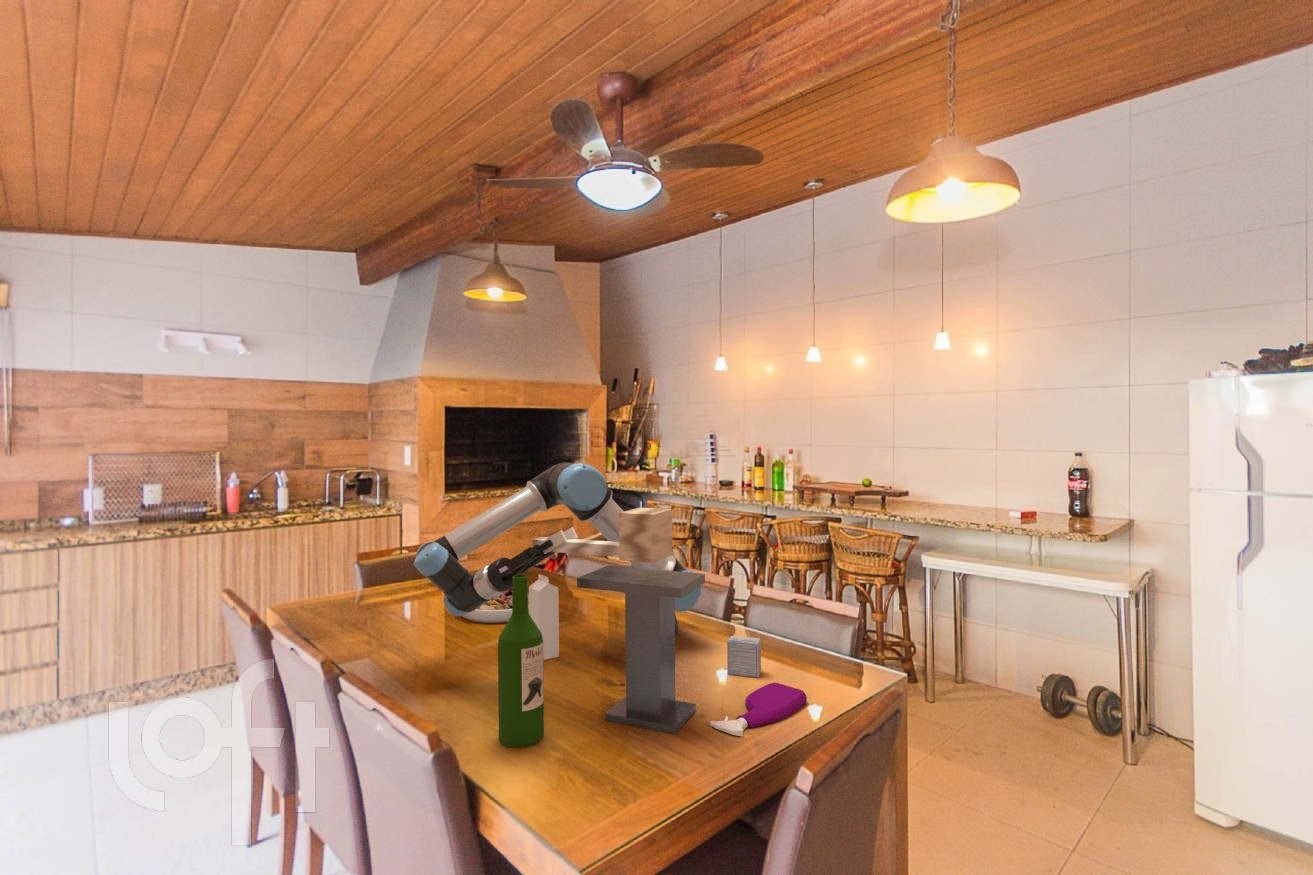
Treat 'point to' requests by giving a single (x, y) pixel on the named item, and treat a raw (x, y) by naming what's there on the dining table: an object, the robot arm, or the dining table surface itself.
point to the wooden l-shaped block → (629, 538)
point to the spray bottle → (764, 708)
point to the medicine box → (744, 656)
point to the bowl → (494, 609)
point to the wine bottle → (520, 674)
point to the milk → (545, 614)
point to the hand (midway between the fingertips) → (569, 534)
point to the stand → (648, 643)
